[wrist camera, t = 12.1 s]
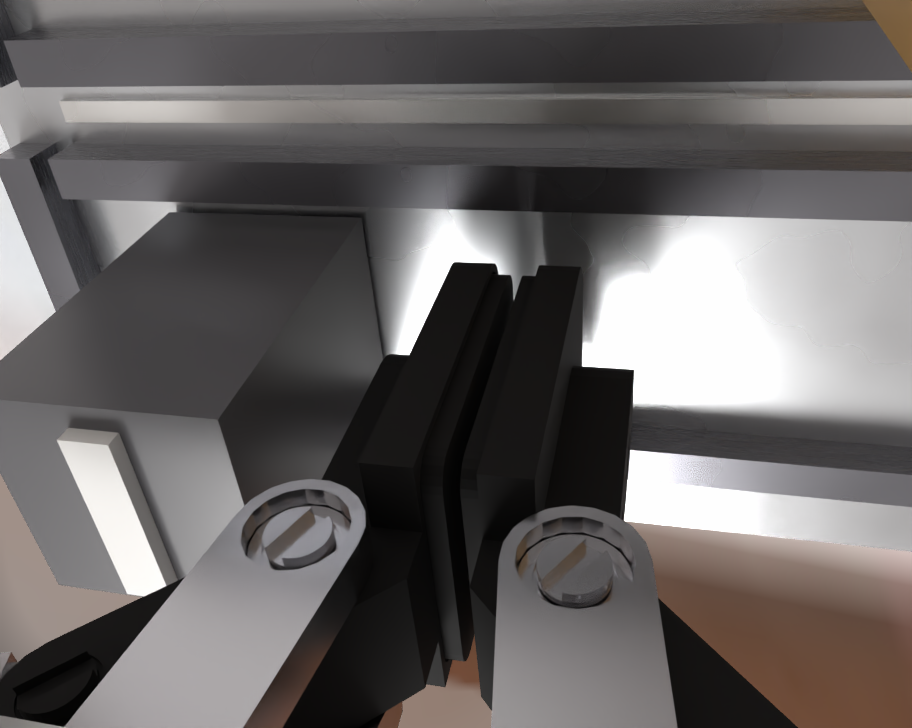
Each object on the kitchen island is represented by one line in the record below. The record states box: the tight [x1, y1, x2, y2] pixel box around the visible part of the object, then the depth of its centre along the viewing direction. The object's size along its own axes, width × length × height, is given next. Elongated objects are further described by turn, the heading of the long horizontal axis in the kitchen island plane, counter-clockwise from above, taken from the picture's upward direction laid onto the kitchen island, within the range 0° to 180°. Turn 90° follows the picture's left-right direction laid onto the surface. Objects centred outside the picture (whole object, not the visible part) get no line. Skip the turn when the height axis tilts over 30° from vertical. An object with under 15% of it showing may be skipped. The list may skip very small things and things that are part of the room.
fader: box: [0, 212, 383, 597], centre depth 11 cm, size 3×3×5 cm
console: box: [0, 0, 912, 552], centre depth 11 cm, size 14×16×3 cm
